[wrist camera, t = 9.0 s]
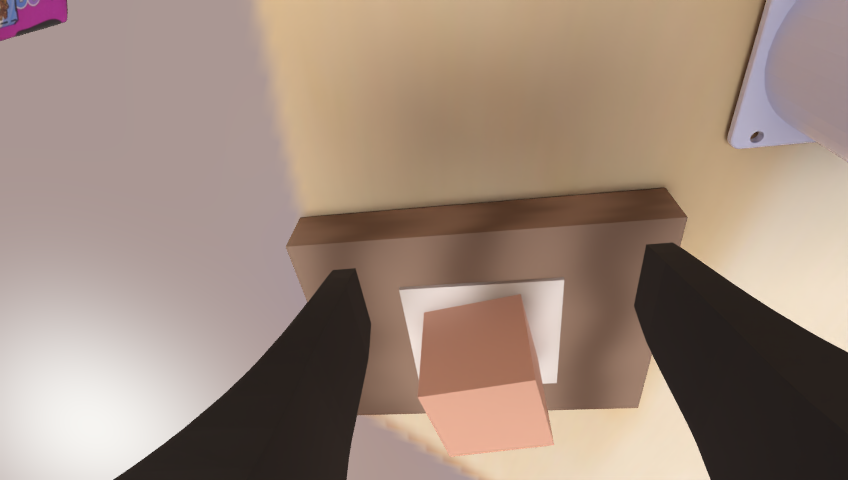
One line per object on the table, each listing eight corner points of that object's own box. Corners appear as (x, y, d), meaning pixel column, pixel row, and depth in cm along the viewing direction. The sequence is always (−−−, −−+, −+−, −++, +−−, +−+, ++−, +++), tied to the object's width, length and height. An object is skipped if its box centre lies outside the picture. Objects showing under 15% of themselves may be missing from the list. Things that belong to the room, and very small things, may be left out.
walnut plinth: (665, 187, 21) (689, 219, 19) (625, 373, 29) (639, 410, 27) (300, 217, 23) (284, 249, 21) (358, 382, 31) (351, 418, 29)
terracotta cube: (520, 294, 22) (535, 380, 18) (537, 357, 25) (554, 445, 21) (424, 312, 23) (417, 397, 19) (450, 371, 26) (450, 456, 22)
